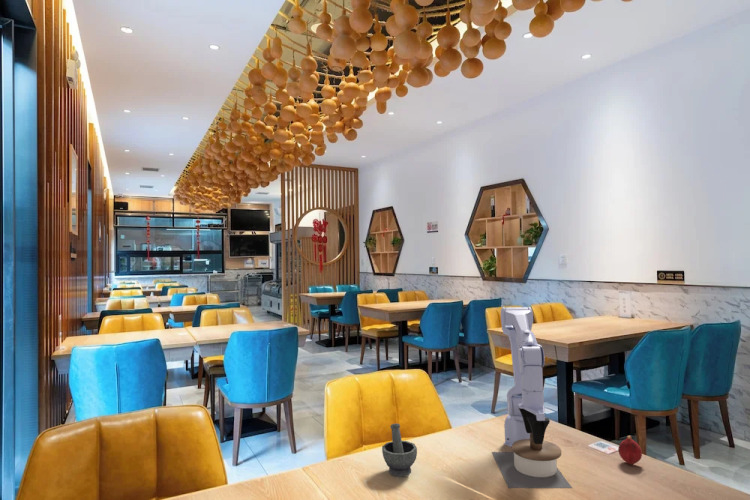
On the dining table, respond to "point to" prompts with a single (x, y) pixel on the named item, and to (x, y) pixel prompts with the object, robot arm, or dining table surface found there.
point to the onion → (630, 451)
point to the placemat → (523, 481)
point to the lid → (536, 450)
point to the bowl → (535, 467)
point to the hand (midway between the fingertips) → (534, 438)
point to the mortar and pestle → (399, 454)
